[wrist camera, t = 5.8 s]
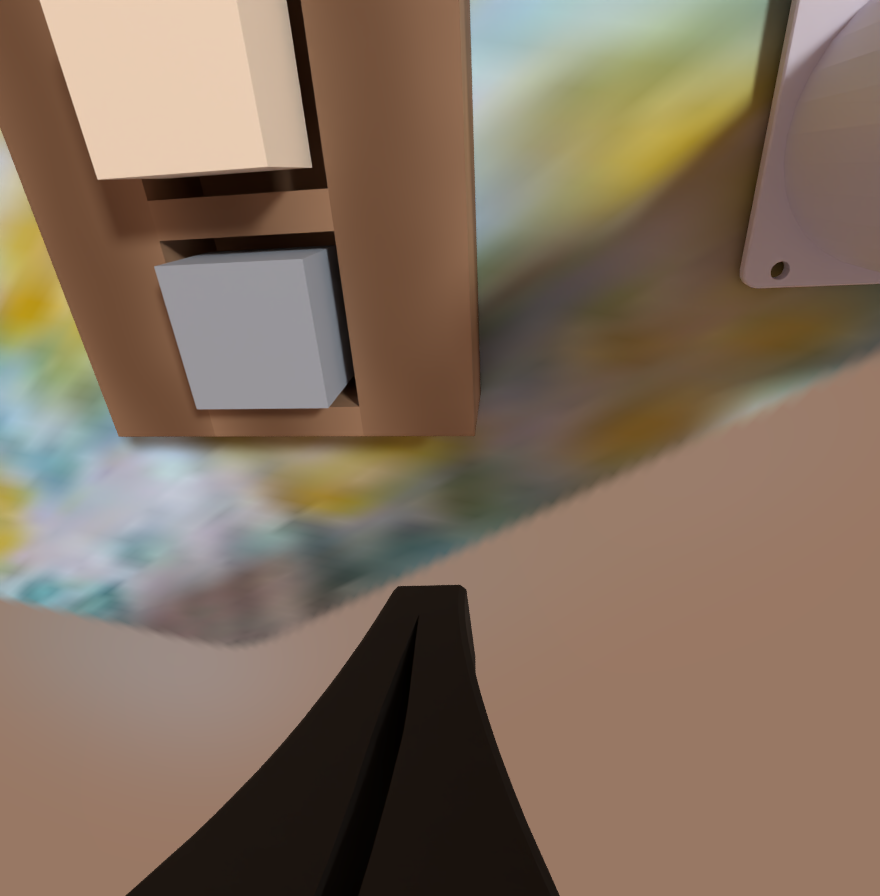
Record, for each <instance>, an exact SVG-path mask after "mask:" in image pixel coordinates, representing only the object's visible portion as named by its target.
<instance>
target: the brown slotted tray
mask: <svg viewBox="0 0 880 896" xmlns="http://www.w3.org/2000/svg"><path fill="white" fill-rule="evenodd" d="M286 1H287V7H288V14H289V20H290V27H291V33H292V40H293V46H294V53H295V59H296V66H297V72H298V79H299V85H300V92H301V98H302V105H303V111H304V118H305V124H306V131H307V137H308V144H309V150H310V157H311V163H312V168H302V169H289V170H276V171H263V172H249V173H236V174H223V175H209V176H196V177H183V178H167V179H109V180H98V179H97V176H96V173H95V170H94V167H93V164H92V161H91V158H90V155H89V152H88V148H87V145H86V142H85V139H84V136H83V133H82V130H81V127H80V124H79V121H78V118H77V114H76V111H75V108H74V105H73V102H72V99H71V96H70V93H69V90H68V87H67V83H66V80H65V77H64V74H63V71H62V68H61V65H60V62H59V59H58V56H57V53H56V49H55V46H54V43H53V40H52V37H51V34H50V31H49V28H48V25H47V22H46V19H45V15H44V12H43V9H42V6H41V3H40V0H0V128H1V131H2V133H3V136H4V139H5V141H6V144H7V146H8V149H9V152H10V154H11V157H12V159H13V162H14V165H15V167H16V170H17V172H18V175H19V178H20V180H21V183H22V185H23V188H24V191H25V193H26V196H27V198H28V201H29V204H30V206H31V209H32V211H33V214H34V217H35V219H36V222H37V224H38V227H39V230H40V232H41V235H42V237H43V240H44V243H45V245H46V248H47V251H48V253H49V256H50V258H51V261H52V264H53V266H54V269H55V271H56V274H57V277H58V279H59V282H60V284H61V287H62V290H63V292H64V295H65V297H66V300H67V303H68V305H69V308H70V310H71V313H72V316H73V318H74V321H75V323H76V326H77V329H78V331H79V334H80V336H81V339H82V342H83V344H84V347H85V349H86V352H87V355H88V357H89V360H90V363H91V365H92V368H93V370H94V373H95V376H96V378H97V381H98V383H99V386H100V389H101V391H102V394H103V396H104V399H105V402H106V404H107V407H108V409H109V412H110V415H111V417H112V420H113V422H114V425H115V428H116V430H117V433H118V435H119V437H150V436H475V430H476V423H477V416H478V409H479V402H480V395H481V387H480V352H479V316H478V281H477V245H476V210H475V174H474V139H473V103H472V68H471V32H470V0H286ZM329 245H336V249H337V256H338V262H339V269H340V276H341V283H342V290H343V297H344V304H345V311H346V318H347V325H348V332H349V339H350V346H351V353H352V360H353V367H354V373H355V375H354V376H353V377H352V379H351V380H350V381H349V382H348V384H347V385H346V386H345V387H344V389H343V390H342V391H341V393H340V394H339V395H338V396H337V398H336V399H335V400H334V402H333V403H332V404H331V405H330V407H329V408H295V409H197V408H196V405H195V402H194V398H193V395H192V392H191V388H190V385H189V382H188V378H187V375H186V372H185V368H184V365H183V362H182V358H181V355H180V351H179V348H178V345H177V341H176V338H175V335H174V331H173V328H172V325H171V321H170V318H169V315H168V311H167V308H166V305H165V301H164V298H163V295H162V291H161V288H160V285H159V281H158V278H157V275H156V271H155V268H154V266H157V265H161V264H165V263H169V262H173V261H177V260H180V259H184V258H188V257H192V256H196V255H199V254H203V253H207V252H217V251H236V250H254V249H273V248H291V247H310V246H329Z"/></svg>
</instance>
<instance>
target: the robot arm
mask: <svg viewBox="0 0 880 896" xmlns="http://www.w3.org/2000/svg"><path fill="white" fill-rule="evenodd" d="M781 261H782V262H783V263H784V269H783V271H782V273H781V274H780V275H778V276H777V277H773V278H772V277H771V269H772V267H773V266H774V265H775V264H776V263H778V262H781ZM740 278H741V280H742V282H743V283H745V284H746V285H748V286H750V287H752V288H782V287H808V286H835V285H861V284H880V0H792V2H791V8H790V13H789V18H788V23H787V28H786V34H785V39H784V44H783V49H782V54H781V59H780V65H779V70H778V75H777V80H776V85H775V90H774V96H773V101H772V106H771V111H770V116H769V122H768V127H767V132H766V137H765V142H764V147H763V153H762V158H761V163H760V168H759V173H758V178H757V184H756V189H755V194H754V199H753V204H752V210H751V215H750V220H749V225H748V230H747V235H746V241H745V246H744V251H743V256H742V261H741V267H740ZM126 896H559V893H558V891H557V889H556V886H555V884H554V882H553V880H552V877H551V875H550V873H549V871H548V868H547V866H546V864H545V862H544V860H543V857H542V855H541V853H540V851H539V849H538V846H537V844H536V842H535V839H534V837H533V835H532V833H531V831H530V828H529V826H528V824H527V821H526V819H525V816H524V814H523V812H522V809H521V807H520V804H519V802H518V799H517V797H516V794H515V792H514V789H513V787H512V784H511V782H510V779H509V777H508V774H507V771H506V768H505V766H504V763H503V760H502V758H501V755H500V752H499V749H498V747H497V743H496V741H495V738H494V735H493V732H492V729H491V726H490V722H489V719H488V716H487V713H486V710H485V706H484V703H483V700H482V696H481V693H480V689H479V685H478V682H477V677H476V673H475V652H474V644H473V637H472V629H471V621H470V614H469V606H468V599H467V591H466V589H465V588H463V587H462V586H461V585H436V586H398V587H397V588H396V589H395V590H394V591H393V593H392V594H391V596H390V598H389V599H388V601H387V603H386V604H385V606H384V607H383V609H382V610H381V612H380V614H379V615H378V617H377V618H376V620H375V622H374V623H373V624H372V626H371V628H370V629H369V631H368V632H367V634H366V635H365V637H364V638H363V640H362V641H361V643H360V644H359V645H358V647H357V648H356V650H355V651H354V652H353V654H352V655H351V657H350V658H349V660H348V661H347V662H346V664H345V665H344V667H343V668H342V669H341V671H340V672H339V674H338V675H337V676H336V678H335V679H334V680H333V682H332V683H331V684H330V686H329V687H328V688H327V689H326V691H325V692H324V693H323V694H322V696H321V697H320V698H319V700H318V701H317V702H316V703H315V705H314V706H313V707H312V708H311V710H310V711H309V712H308V713H307V715H306V716H305V717H304V719H303V720H302V721H301V722H300V723H299V725H298V726H297V727H296V728H295V729H294V730H293V732H292V733H291V734H290V735H289V736H288V738H287V739H286V740H285V741H284V742H283V743H282V744H281V746H280V747H279V748H278V749H277V750H276V751H275V752H274V753H273V754H272V756H271V757H270V758H269V759H268V760H267V761H266V762H265V763H264V764H263V765H262V767H261V768H260V769H259V770H258V771H257V772H256V773H255V774H254V775H253V776H252V777H251V778H250V779H249V780H248V781H247V782H246V783H245V784H244V785H243V787H241V788H240V789H239V791H237V792H236V794H235V795H234V796H233V797H232V798H231V799H230V800H229V801H228V802H227V803H226V804H225V805H224V806H223V807H222V808H221V809H220V810H219V811H218V812H217V813H216V814H215V815H214V816H213V817H212V818H211V819H210V820H209V821H208V822H207V823H205V824H204V825H203V826H202V827H201V828H200V829H199V830H198V831H197V832H196V833H195V834H194V835H193V836H192V837H191V838H190V839H189V840H187V841H186V842H185V843H184V844H183V845H182V846H181V847H180V848H178V849H177V850H176V851H175V852H174V853H173V854H172V855H171V856H170V857H168V858H167V859H166V860H165V861H164V862H163V863H162V864H161V865H159V866H158V867H157V868H156V869H155V870H154V871H153V872H152V873H150V874H149V875H148V876H147V877H146V878H145V879H144V880H143V881H141V882H140V883H139V884H138V885H137V886H136V887H135V888H134V889H133V890H132V891H131V892H129V893H128V894H127V895H126Z"/></svg>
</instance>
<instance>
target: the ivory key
mask: <svg viewBox="0 0 880 896" xmlns="http://www.w3.org/2000/svg"><path fill="white" fill-rule="evenodd" d="M40 3H41V6H42V9H43V12H44V15H45V19H46V22H47V25H48V28H49V31H50V34H51V37H52V40H53V43H54V46H55V49H56V53H57V56H58V59H59V62H60V65H61V68H62V71H63V74H64V77H65V80H66V83H67V87H68V90H69V93H70V96H71V99H72V102H73V105H74V108H75V111H76V114H77V118H78V121H79V124H80V127H81V130H82V133H83V136H84V139H85V142H86V145H87V148H88V152H89V155H90V158H91V161H92V164H93V167H94V170H95V173H96V176H97V179H98V180H109V179H167V178H183V177H196V176H209V175H223V174H236V173H249V172H263V171H276V170H289V169H302V168H312V163H311V157H310V150H309V144H308V137H307V131H306V124H305V118H304V111H303V105H302V98H301V92H300V85H299V79H298V72H297V66H296V59H295V53H294V46H293V40H292V33H291V27H290V20H289V14H288V7H287V1H286V0H40Z"/></svg>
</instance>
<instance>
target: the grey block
mask: <svg viewBox="0 0 880 896" xmlns="http://www.w3.org/2000/svg"><path fill="white" fill-rule="evenodd" d="M154 268H155V271H156V275H157V278H158V281H159V285H160V288H161V291H162V295H163V298H164V301H165V305H166V308H167V311H168V315H169V318H170V321H171V325H172V328H173V331H174V335H175V338H176V341H177V345H178V348H179V351H180V355H181V358H182V362H183V365H184V368H185V372H186V375H187V378H188V382H189V385H190V388H191V392H192V395H193V398H194V402H195V405H196V408H197V409H295V408H329V407H330V405H331V404H332V403H333V402H334V400H335V399H336V398H337V396H338V395H339V394H340V393H341V391H342V390H343V389H344V387H345V386H346V385H347V384H348V382H349V381H350V380H351V379H352V377H353V376H354V375H355V373H354V367H353V360H352V353H351V346H350V339H349V332H348V325H347V318H346V311H345V304H344V297H343V290H342V283H341V276H340V269H339V262H338V256H337V249H336V245H329V246H310V247H291V248H273V249H254V250H236V251H217V252H207V253H203V254H199V255H196V256H192V257H188V258H184V259H180V260H177V261H173V262H169V263H165V264H161V265H157V266H154Z"/></svg>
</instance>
